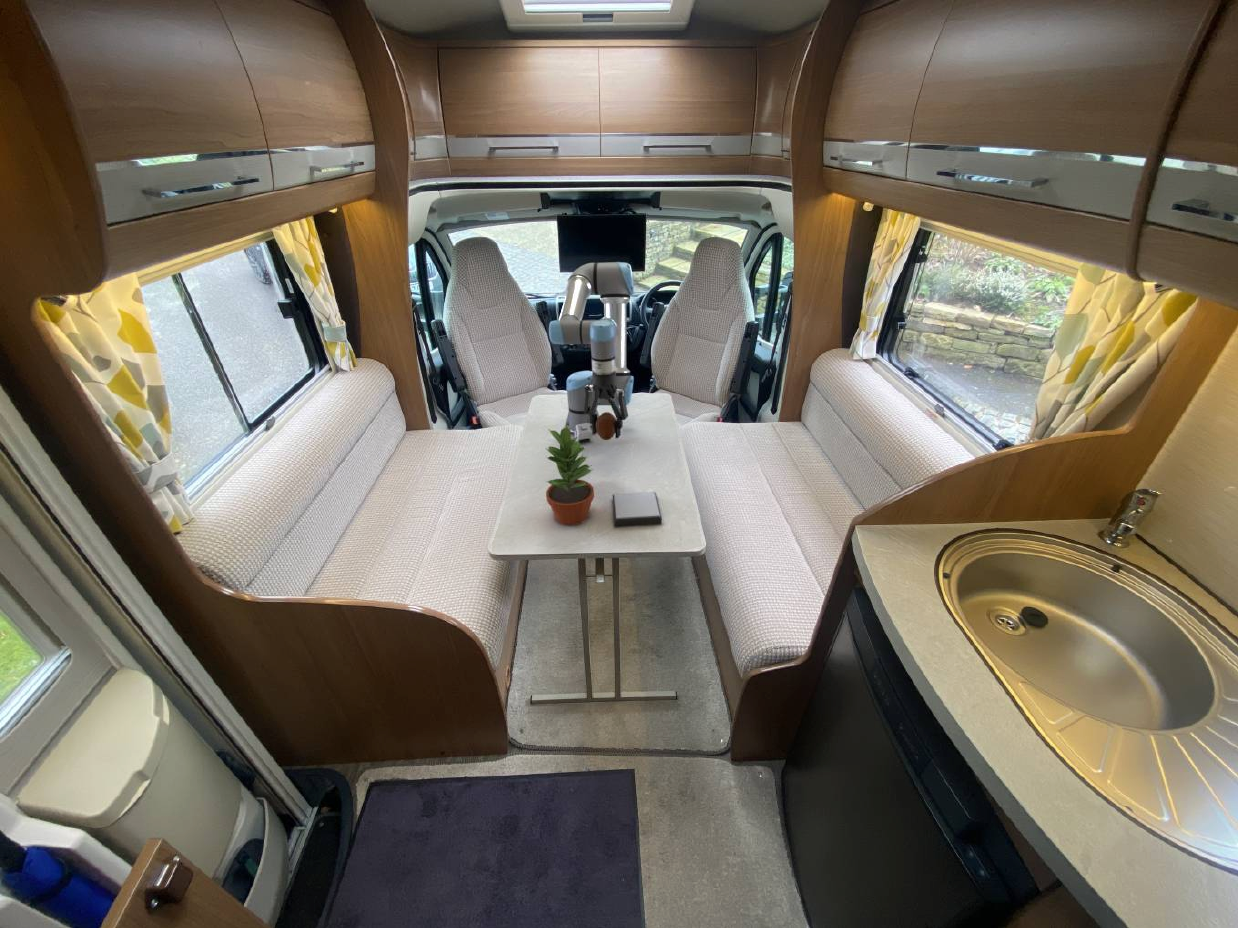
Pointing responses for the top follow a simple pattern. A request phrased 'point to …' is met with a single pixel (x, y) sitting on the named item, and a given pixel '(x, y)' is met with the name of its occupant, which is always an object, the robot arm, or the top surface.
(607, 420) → the potato
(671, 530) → the top surface
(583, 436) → the tape dispenser
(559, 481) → the potted plant
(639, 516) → the scale
